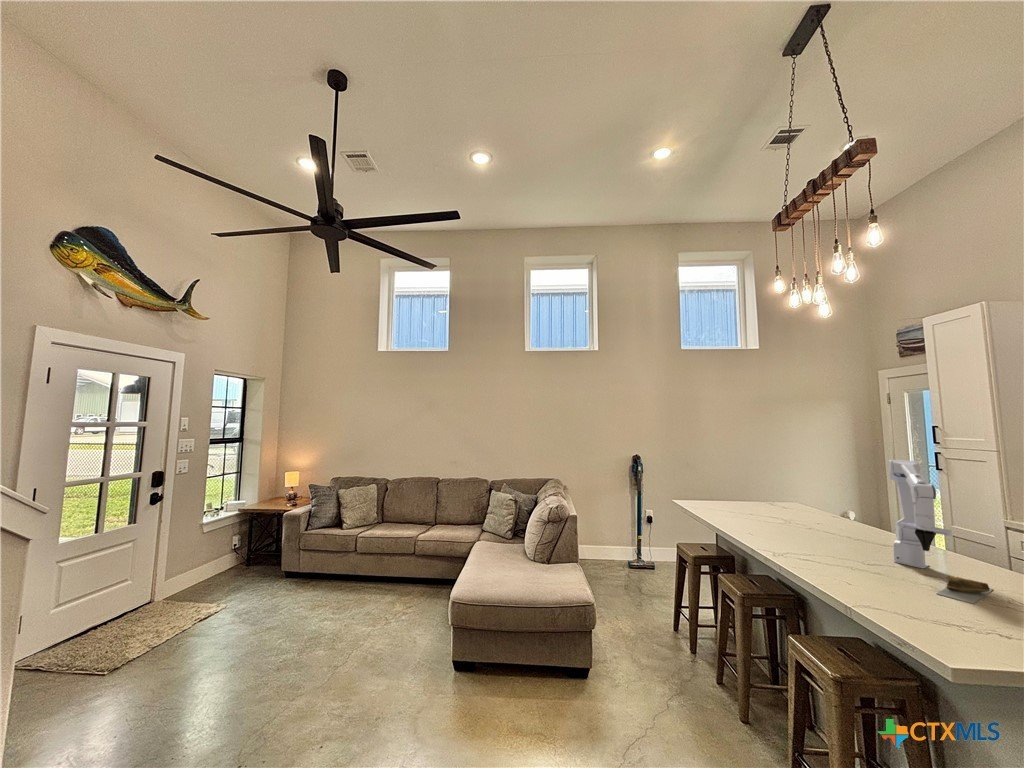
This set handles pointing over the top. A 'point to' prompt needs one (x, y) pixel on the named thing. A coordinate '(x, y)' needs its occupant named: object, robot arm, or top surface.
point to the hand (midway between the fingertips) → (926, 550)
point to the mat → (963, 595)
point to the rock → (967, 585)
